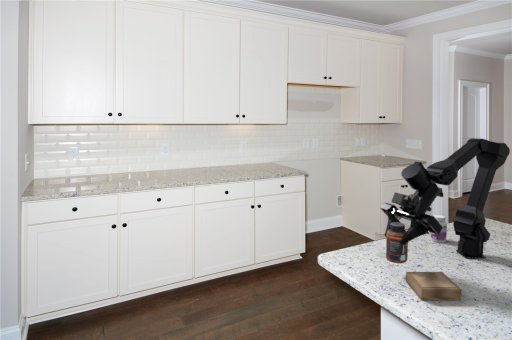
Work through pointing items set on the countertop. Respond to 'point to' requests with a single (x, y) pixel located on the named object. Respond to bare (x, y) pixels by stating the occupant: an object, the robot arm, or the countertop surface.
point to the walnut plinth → (433, 286)
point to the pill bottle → (442, 235)
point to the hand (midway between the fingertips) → (393, 239)
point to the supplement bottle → (396, 243)
